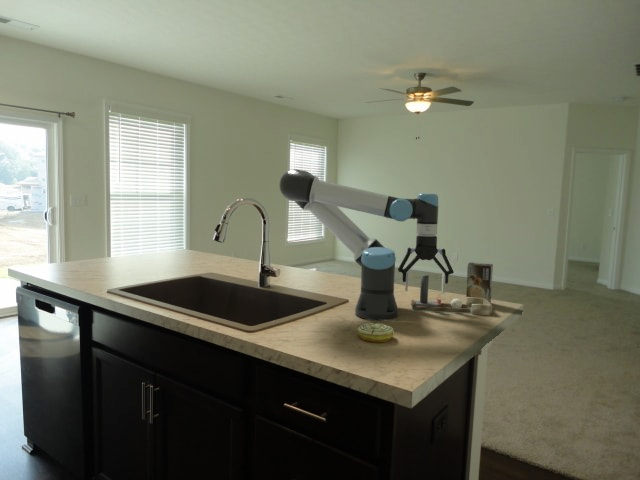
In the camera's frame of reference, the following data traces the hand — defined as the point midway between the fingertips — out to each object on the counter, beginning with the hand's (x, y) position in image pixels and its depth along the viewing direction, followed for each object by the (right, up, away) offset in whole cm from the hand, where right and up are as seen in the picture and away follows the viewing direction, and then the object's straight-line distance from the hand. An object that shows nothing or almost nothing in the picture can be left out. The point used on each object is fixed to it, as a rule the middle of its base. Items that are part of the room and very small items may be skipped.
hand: (424, 291), depth 171 cm
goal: (+20, -7, -2) cm, 21 cm away
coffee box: (+24, -6, +10) cm, 26 cm away
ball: (+12, -5, -1) cm, 13 cm away
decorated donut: (-23, -10, -35) cm, 43 cm away
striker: (+1, -6, 0) cm, 6 cm away
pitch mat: (+9, -7, -1) cm, 11 cm away
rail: (+6, -6, 0) cm, 9 cm away
